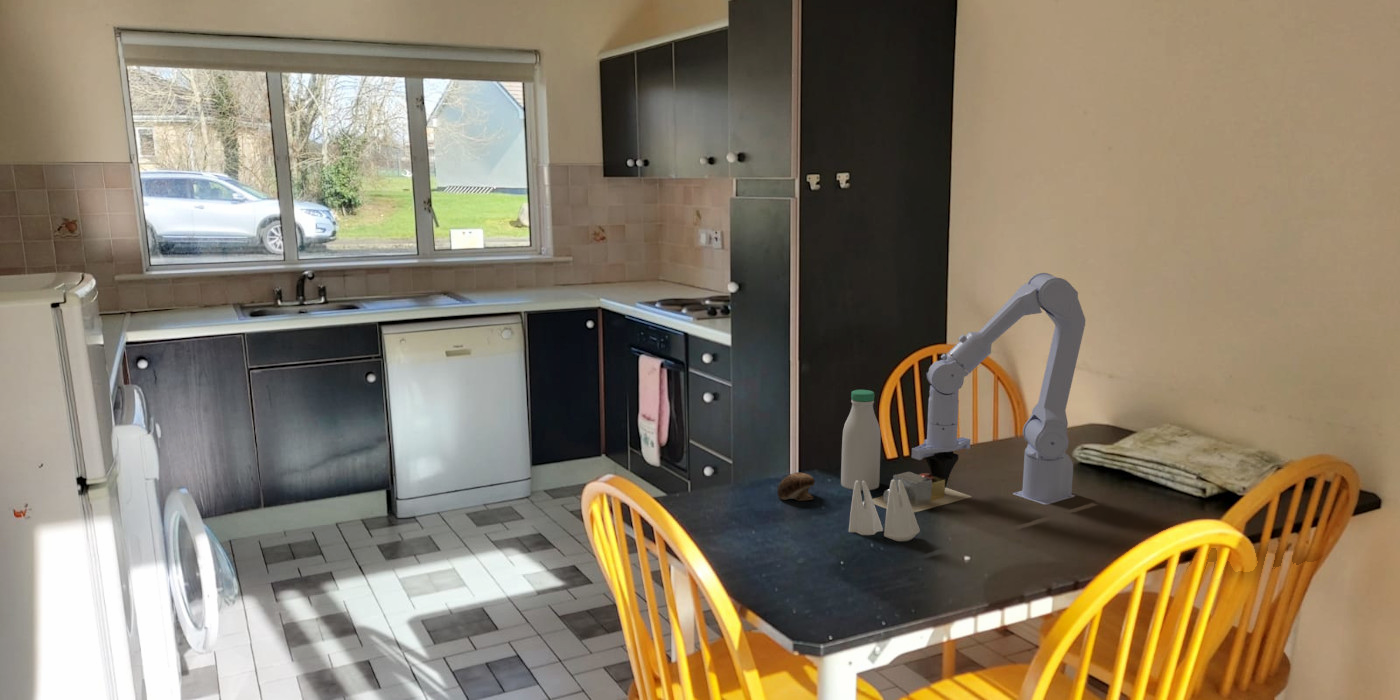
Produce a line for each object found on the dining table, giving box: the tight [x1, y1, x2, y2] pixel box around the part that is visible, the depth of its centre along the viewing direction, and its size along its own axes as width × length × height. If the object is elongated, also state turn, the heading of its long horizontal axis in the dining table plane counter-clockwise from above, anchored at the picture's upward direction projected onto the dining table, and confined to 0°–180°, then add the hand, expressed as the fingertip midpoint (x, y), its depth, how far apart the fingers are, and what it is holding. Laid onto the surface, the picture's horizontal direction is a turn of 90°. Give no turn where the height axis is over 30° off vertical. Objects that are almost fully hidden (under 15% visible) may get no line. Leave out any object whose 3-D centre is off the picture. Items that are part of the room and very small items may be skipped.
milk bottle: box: [840, 389, 882, 491], centre depth 198 cm, size 8×8×20 cm
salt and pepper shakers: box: [848, 478, 921, 542], centre depth 171 cm, size 12×4×11 cm, turn 59°
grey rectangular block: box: [882, 471, 932, 507], centre depth 188 cm, size 8×6×5 cm
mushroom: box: [777, 472, 816, 502], centre depth 191 cm, size 8×8×6 cm
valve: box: [918, 472, 945, 501], centre depth 191 cm, size 8×4×4 cm, turn 124°
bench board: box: [872, 486, 973, 514], centre depth 191 cm, size 19×10×1 cm, turn 124°
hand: (939, 488), depth 194 cm, fingers closed
